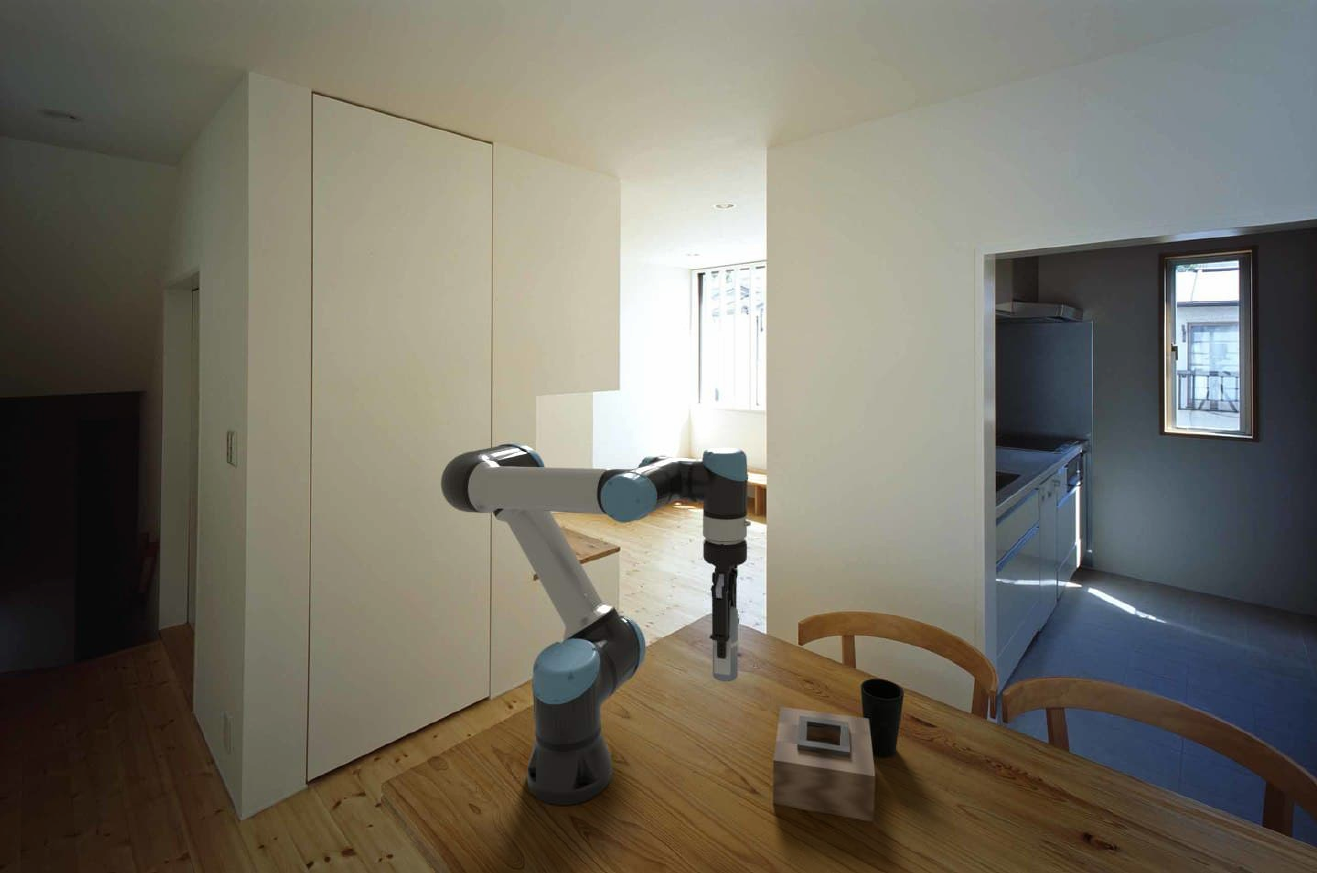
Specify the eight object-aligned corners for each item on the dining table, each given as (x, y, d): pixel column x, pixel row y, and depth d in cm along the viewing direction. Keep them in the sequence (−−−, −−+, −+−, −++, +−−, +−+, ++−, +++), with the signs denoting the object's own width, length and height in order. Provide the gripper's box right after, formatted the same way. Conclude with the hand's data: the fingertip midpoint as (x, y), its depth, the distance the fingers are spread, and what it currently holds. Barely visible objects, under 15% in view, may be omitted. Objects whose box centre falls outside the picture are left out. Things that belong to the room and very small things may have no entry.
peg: (710, 679, 106) (710, 614, 105) (714, 667, 111) (714, 604, 109) (735, 683, 105) (736, 617, 104) (739, 670, 109) (739, 606, 108)
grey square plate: (809, 759, 105) (809, 755, 105) (810, 743, 110) (810, 739, 110) (837, 763, 104) (837, 759, 104) (836, 747, 109) (836, 743, 108)
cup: (905, 763, 112) (907, 702, 110) (862, 758, 113) (863, 698, 112) (897, 737, 119) (899, 680, 118) (856, 734, 121) (858, 676, 119)
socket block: (773, 804, 102) (773, 754, 101) (780, 745, 117) (780, 701, 116) (873, 822, 98) (875, 770, 97) (867, 758, 113) (868, 713, 112)
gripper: (739, 556, 95) (739, 695, 98) (753, 525, 112) (752, 645, 115) (692, 552, 97) (693, 689, 100) (712, 523, 114) (712, 641, 117)
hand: (724, 665), depth 108 cm, fingers closed on peg, 4 cm apart
